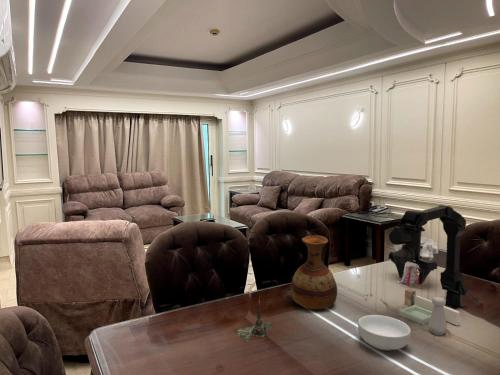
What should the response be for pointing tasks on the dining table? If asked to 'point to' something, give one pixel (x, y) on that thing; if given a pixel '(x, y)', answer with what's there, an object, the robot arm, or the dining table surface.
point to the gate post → (409, 297)
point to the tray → (416, 314)
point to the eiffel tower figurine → (255, 328)
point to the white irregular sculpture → (427, 251)
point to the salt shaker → (438, 316)
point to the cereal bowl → (384, 332)
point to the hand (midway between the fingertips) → (410, 281)
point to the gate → (427, 304)
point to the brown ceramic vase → (314, 277)
